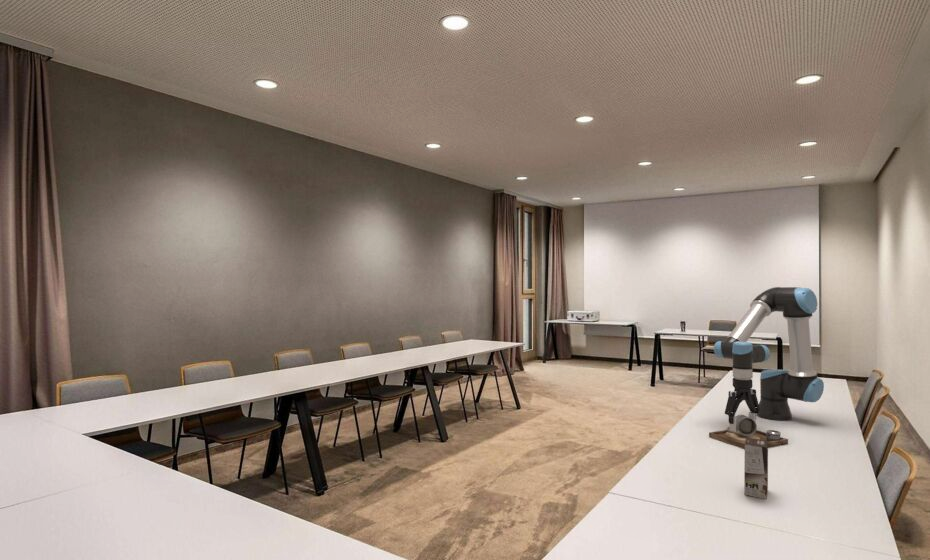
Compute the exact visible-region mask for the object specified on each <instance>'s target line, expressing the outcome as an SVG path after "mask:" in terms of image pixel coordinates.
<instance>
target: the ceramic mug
mask: <svg viewBox="0 0 930 560" xmlns="http://www.w3.org/2000/svg"><path fill="white" fill-rule="evenodd" d="M735 416H736V432H738V431H739V432H740V433H741V434H743V435H746V436H750V435H752V434H754V433H755V432H756V430H758V427H757V426H758V425H757V423H756V422H755V421H754V420H753V419H752V418H750V417H749V416H747V415H744V414H737V415H735ZM725 430H727V432H728V433H735V432H733V431H729V425H728V426H727V427H726V428H725Z"/></svg>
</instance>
